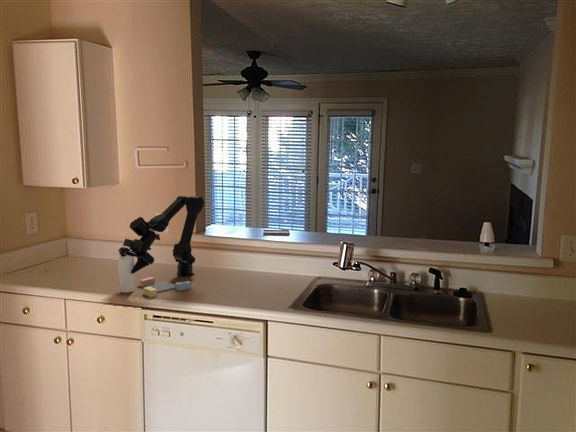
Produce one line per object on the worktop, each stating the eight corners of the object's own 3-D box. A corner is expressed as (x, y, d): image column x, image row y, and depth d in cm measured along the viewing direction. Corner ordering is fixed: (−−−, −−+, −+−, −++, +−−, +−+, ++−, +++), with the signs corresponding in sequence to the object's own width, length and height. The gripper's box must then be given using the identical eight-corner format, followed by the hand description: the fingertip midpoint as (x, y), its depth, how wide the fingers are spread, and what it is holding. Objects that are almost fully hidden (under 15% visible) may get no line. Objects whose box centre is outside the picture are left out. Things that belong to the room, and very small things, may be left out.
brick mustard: (143, 294, 206) (143, 287, 206) (150, 293, 208) (149, 286, 208) (150, 297, 202) (150, 291, 201) (157, 296, 204) (156, 289, 203)
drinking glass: (130, 294, 205) (129, 260, 203) (116, 293, 207) (114, 259, 204) (138, 289, 212) (137, 256, 209) (124, 288, 213) (123, 255, 211)
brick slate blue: (188, 287, 217) (188, 280, 216) (191, 288, 214) (190, 282, 214) (175, 289, 213) (175, 283, 213) (178, 291, 211) (178, 284, 210)
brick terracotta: (151, 283, 222) (151, 276, 222) (154, 284, 220) (154, 278, 220) (139, 286, 218) (139, 279, 217) (143, 287, 216) (142, 281, 215)
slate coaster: (166, 282, 223) (166, 281, 223) (179, 287, 215) (179, 286, 215) (144, 287, 215) (144, 285, 215) (157, 292, 208) (157, 291, 208)
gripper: (121, 229, 214) (100, 257, 207) (147, 234, 204) (126, 264, 196) (136, 243, 222) (116, 271, 215) (163, 249, 211) (143, 279, 204)
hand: (125, 271), depth 207 cm, fingers open, 9 cm apart
